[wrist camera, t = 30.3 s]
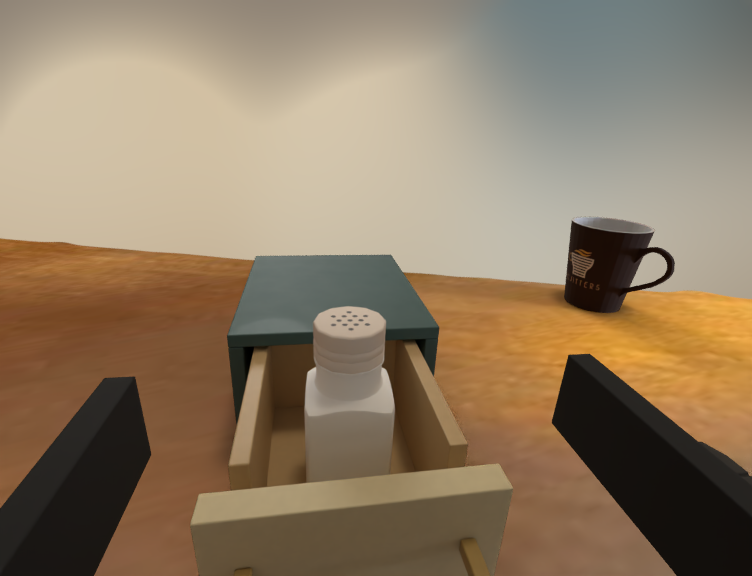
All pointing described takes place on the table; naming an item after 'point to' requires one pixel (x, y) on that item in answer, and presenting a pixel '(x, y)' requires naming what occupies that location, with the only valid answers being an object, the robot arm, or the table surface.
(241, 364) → the cabinet
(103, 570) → the table surface
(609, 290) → the coffee mug
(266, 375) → the drawer
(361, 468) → the pepper shaker
